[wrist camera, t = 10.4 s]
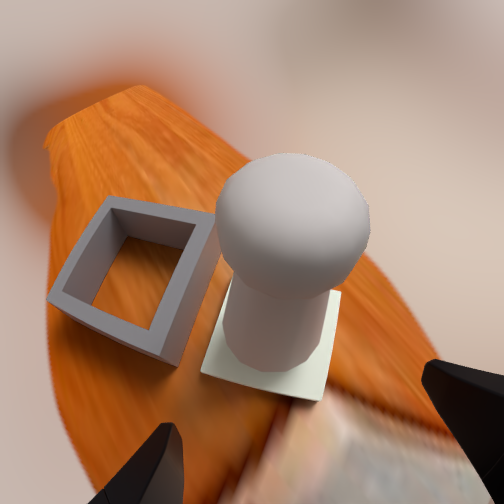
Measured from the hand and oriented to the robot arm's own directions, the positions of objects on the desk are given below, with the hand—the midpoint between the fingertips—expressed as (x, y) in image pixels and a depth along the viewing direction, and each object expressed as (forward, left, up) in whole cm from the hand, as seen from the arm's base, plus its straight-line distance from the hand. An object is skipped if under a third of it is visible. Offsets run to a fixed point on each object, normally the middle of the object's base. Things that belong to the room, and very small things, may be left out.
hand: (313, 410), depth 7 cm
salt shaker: (+5, +2, -9) cm, 10 cm away
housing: (+6, +13, -10) cm, 17 cm away
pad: (+5, +2, -10) cm, 11 cm away
